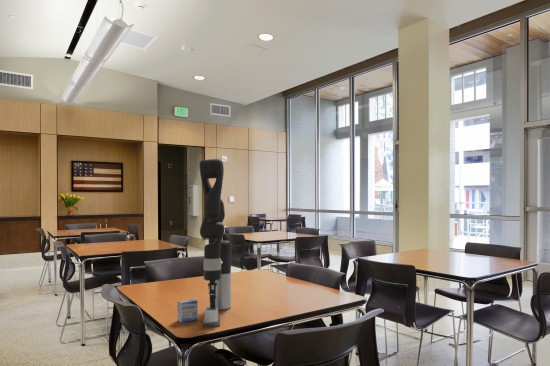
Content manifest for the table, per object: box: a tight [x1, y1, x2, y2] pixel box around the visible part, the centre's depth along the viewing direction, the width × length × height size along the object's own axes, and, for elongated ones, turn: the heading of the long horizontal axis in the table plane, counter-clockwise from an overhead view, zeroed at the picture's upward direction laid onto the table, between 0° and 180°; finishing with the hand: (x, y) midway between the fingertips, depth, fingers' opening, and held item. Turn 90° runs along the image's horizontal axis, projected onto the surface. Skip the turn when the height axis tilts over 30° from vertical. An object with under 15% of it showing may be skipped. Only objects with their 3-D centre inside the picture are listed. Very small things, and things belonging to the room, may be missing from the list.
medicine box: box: [176, 298, 199, 324], centre depth 174 cm, size 8×4×9 cm, turn 126°
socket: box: [204, 306, 219, 323], centre depth 168 cm, size 6×6×5 cm
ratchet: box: [202, 317, 221, 328], centre depth 172 cm, size 15×7×4 cm, turn 9°
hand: (212, 305), depth 169 cm, fingers open, 8 cm apart
